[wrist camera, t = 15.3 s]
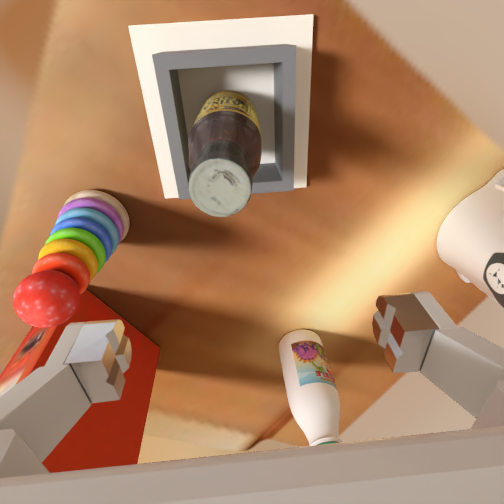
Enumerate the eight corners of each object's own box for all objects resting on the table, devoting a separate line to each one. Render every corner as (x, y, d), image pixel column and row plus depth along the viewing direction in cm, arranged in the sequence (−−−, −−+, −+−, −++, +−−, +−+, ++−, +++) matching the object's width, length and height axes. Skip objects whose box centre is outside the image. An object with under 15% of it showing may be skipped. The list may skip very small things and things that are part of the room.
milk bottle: (300, 362, 62) (330, 481, 46) (269, 347, 59) (288, 469, 43) (329, 338, 59) (371, 456, 43) (297, 321, 56) (329, 441, 40)
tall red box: (125, 365, 59) (47, 638, 32) (43, 308, 50) (-156, 614, 24) (160, 346, 57) (108, 620, 30) (81, 283, 49) (-90, 586, 22)
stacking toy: (107, 252, 46) (48, 364, 30) (53, 215, 42) (-45, 320, 27) (143, 217, 44) (100, 318, 28) (89, 174, 40) (5, 263, 24)
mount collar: (312, 14, 33) (330, 10, 27) (305, 185, 43) (317, 207, 37) (129, 25, 32) (110, 23, 27) (165, 196, 42) (157, 220, 37)
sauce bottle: (247, 79, 35) (265, 118, 18) (262, 137, 38) (289, 214, 22) (189, 99, 36) (156, 154, 19) (209, 154, 39) (196, 241, 22)
